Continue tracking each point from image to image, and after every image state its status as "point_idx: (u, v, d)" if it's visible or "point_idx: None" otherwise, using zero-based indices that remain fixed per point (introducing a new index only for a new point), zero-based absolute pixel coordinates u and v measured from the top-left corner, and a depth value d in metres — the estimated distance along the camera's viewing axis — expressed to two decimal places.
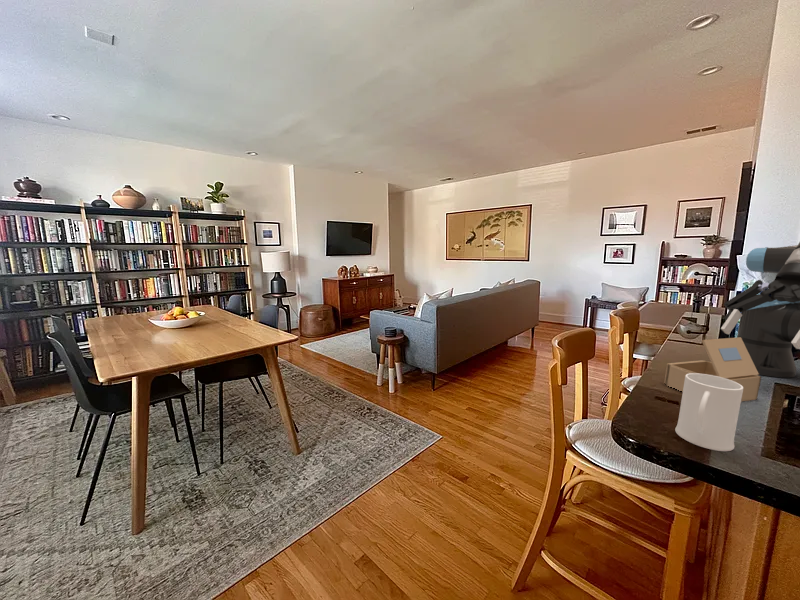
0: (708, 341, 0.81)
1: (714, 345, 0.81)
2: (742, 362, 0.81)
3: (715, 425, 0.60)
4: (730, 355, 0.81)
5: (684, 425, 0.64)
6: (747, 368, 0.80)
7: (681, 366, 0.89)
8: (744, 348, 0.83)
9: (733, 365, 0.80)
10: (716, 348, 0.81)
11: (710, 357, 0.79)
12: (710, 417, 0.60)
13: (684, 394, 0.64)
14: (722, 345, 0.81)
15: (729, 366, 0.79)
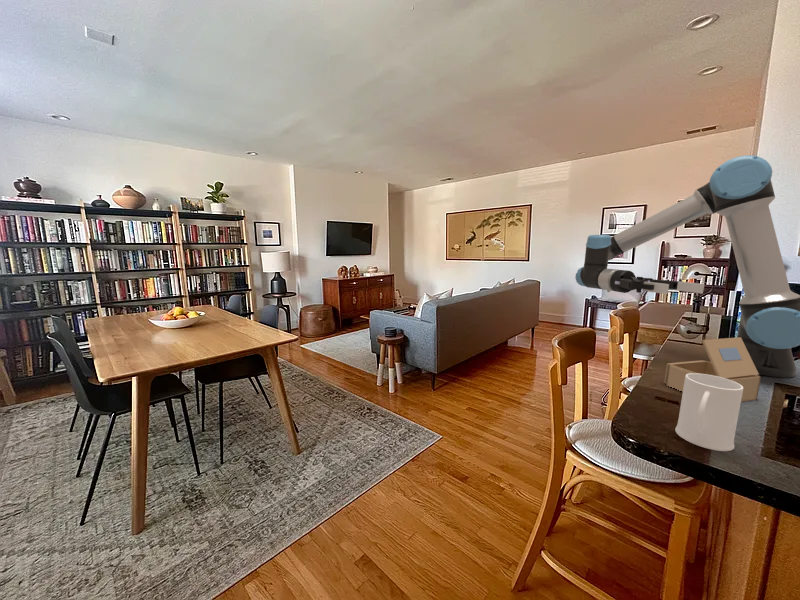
0: (708, 341, 0.81)
1: (714, 345, 0.81)
2: (742, 362, 0.81)
3: (715, 425, 0.60)
4: (730, 355, 0.81)
5: (684, 425, 0.64)
6: (747, 368, 0.80)
7: (681, 366, 0.89)
8: (744, 348, 0.83)
9: (733, 365, 0.80)
10: (716, 348, 0.81)
11: (710, 357, 0.79)
12: (710, 417, 0.60)
13: (684, 394, 0.64)
14: (722, 345, 0.81)
15: (729, 366, 0.79)
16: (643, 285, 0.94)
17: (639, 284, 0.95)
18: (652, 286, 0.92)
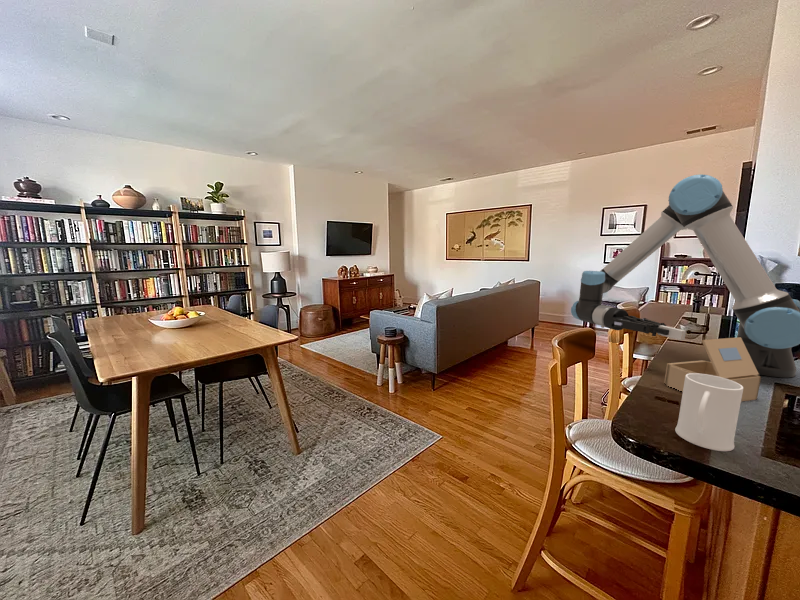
0: (708, 341, 0.81)
1: (714, 345, 0.81)
2: (742, 362, 0.81)
3: (715, 425, 0.60)
4: (730, 355, 0.81)
5: (684, 425, 0.64)
6: (747, 368, 0.80)
7: (681, 366, 0.89)
8: (744, 348, 0.83)
9: (733, 365, 0.80)
10: (716, 348, 0.81)
11: (710, 357, 0.79)
12: (710, 417, 0.60)
13: (684, 394, 0.64)
14: (722, 345, 0.81)
15: (729, 366, 0.79)
16: (658, 329, 0.96)
17: (656, 328, 0.97)
18: (667, 331, 0.94)
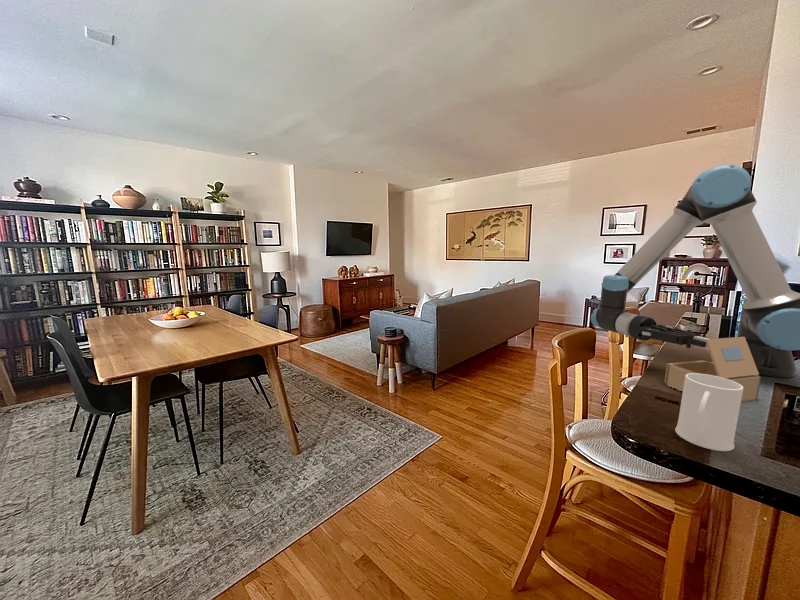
0: (711, 340, 0.80)
1: (717, 345, 0.80)
2: (743, 362, 0.80)
3: (715, 425, 0.60)
4: (732, 355, 0.80)
5: (684, 425, 0.64)
6: (748, 368, 0.80)
7: (681, 366, 0.89)
8: (747, 348, 0.82)
9: (734, 365, 0.80)
10: (719, 348, 0.80)
11: (712, 357, 0.79)
12: (710, 417, 0.60)
13: (684, 394, 0.64)
14: (725, 344, 0.81)
15: (731, 366, 0.79)
16: (693, 341, 0.87)
17: (691, 339, 0.88)
18: (704, 343, 0.85)
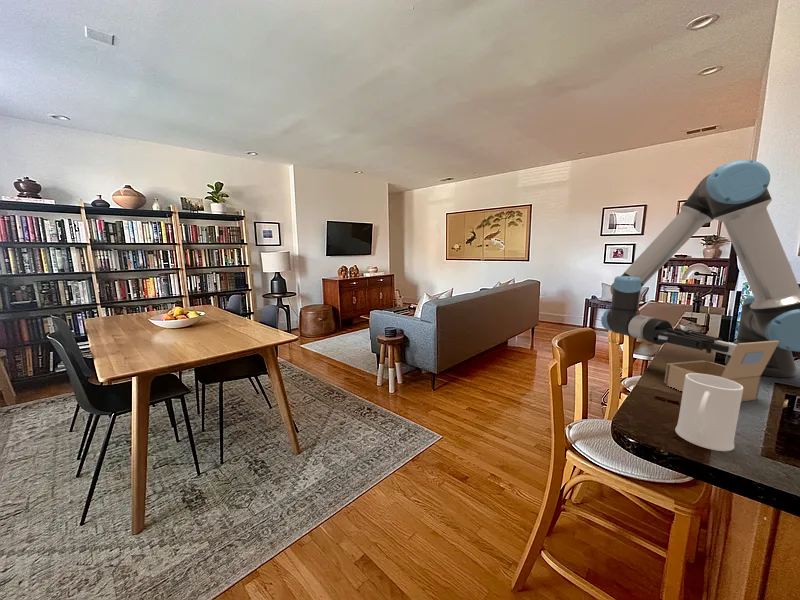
0: (743, 346, 0.74)
1: (746, 349, 0.75)
2: (756, 365, 0.78)
3: (715, 425, 0.60)
4: (751, 359, 0.77)
5: (684, 425, 0.64)
6: (755, 370, 0.79)
7: (681, 366, 0.89)
8: (771, 352, 0.78)
9: (745, 368, 0.78)
10: (744, 352, 0.75)
11: (730, 360, 0.75)
12: (710, 417, 0.60)
13: (684, 394, 0.64)
14: (753, 349, 0.76)
15: (741, 368, 0.77)
16: (714, 345, 0.82)
17: (712, 344, 0.83)
18: (726, 348, 0.80)
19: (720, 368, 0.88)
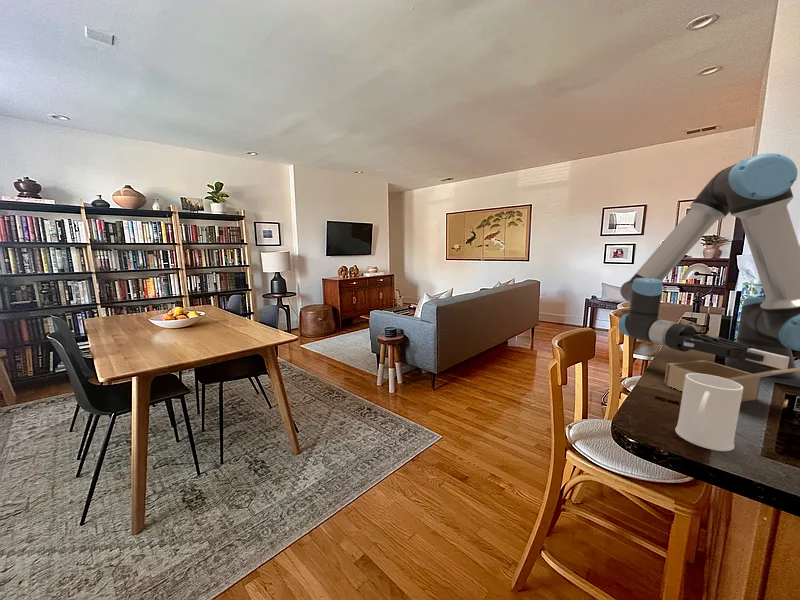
0: (774, 373, 0.69)
1: (772, 373, 0.71)
2: None
3: (715, 425, 0.60)
4: (768, 374, 0.74)
5: (684, 425, 0.64)
6: (761, 376, 0.78)
7: (681, 366, 0.89)
8: (793, 371, 0.74)
9: (754, 377, 0.76)
10: (768, 374, 0.71)
11: (748, 376, 0.72)
12: (710, 417, 0.60)
13: (684, 394, 0.64)
14: None
15: (749, 377, 0.76)
16: (748, 354, 0.76)
17: (744, 352, 0.77)
18: (761, 357, 0.74)
19: (720, 368, 0.88)
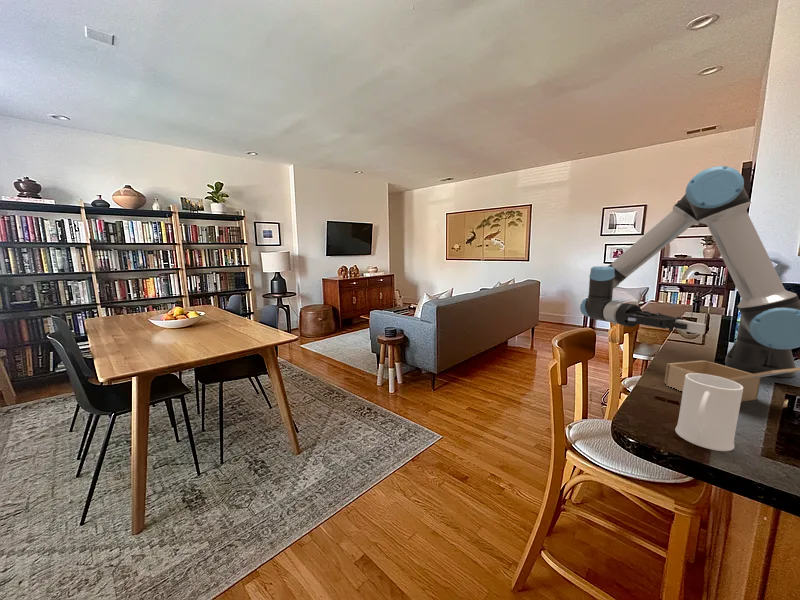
0: (774, 373, 0.69)
1: (772, 373, 0.71)
2: None
3: (715, 425, 0.60)
4: (768, 374, 0.74)
5: (684, 425, 0.64)
6: (761, 376, 0.78)
7: (681, 366, 0.89)
8: (793, 371, 0.74)
9: (754, 377, 0.76)
10: (768, 374, 0.71)
11: (748, 376, 0.72)
12: (710, 417, 0.60)
13: (684, 394, 0.64)
14: None
15: (749, 377, 0.76)
16: (675, 324, 0.92)
17: (673, 323, 0.92)
18: (685, 325, 0.90)
19: (720, 368, 0.88)
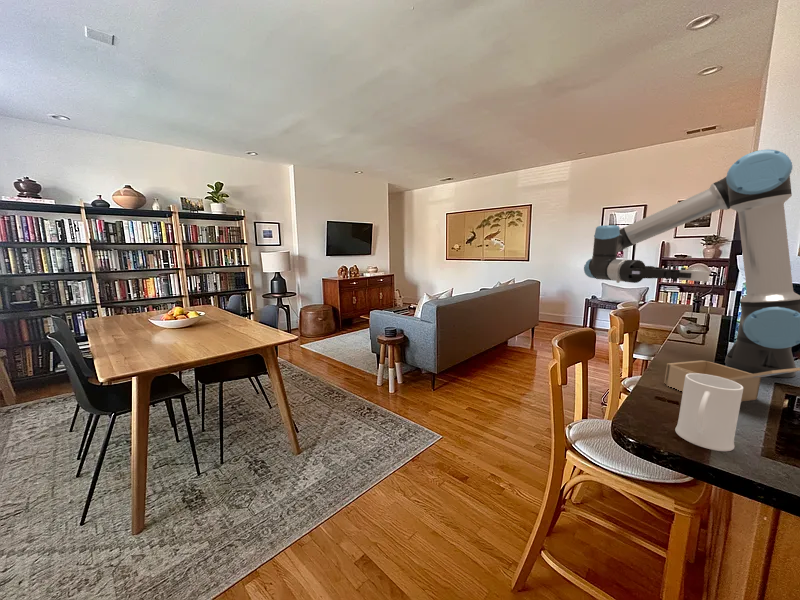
0: (774, 373, 0.69)
1: (772, 373, 0.71)
2: None
3: (715, 425, 0.60)
4: (768, 374, 0.74)
5: (684, 425, 0.64)
6: (761, 376, 0.78)
7: (681, 366, 0.89)
8: (793, 371, 0.74)
9: (754, 377, 0.76)
10: (768, 374, 0.71)
11: (748, 376, 0.72)
12: (710, 417, 0.60)
13: (684, 394, 0.64)
14: None
15: (749, 377, 0.76)
16: (679, 273, 0.92)
17: (677, 273, 0.93)
18: (689, 274, 0.90)
19: (720, 368, 0.88)
